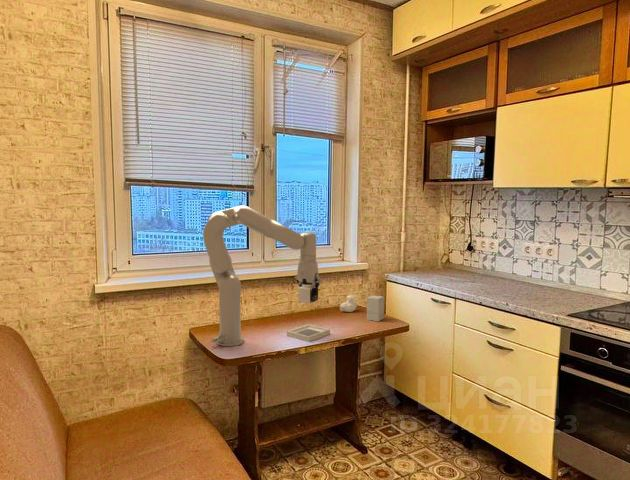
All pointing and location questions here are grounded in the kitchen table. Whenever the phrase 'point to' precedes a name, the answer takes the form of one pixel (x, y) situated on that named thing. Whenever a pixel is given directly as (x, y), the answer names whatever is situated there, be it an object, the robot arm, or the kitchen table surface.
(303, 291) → the medicine bottle
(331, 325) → the kitchen table surface
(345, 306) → the bust
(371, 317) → the supplement box
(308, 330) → the tray
